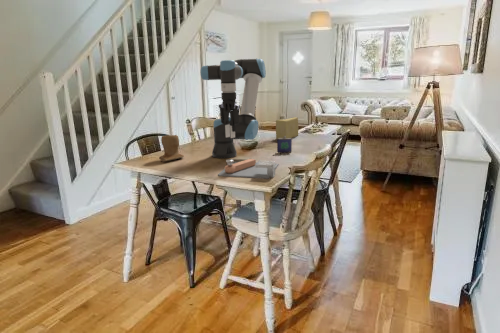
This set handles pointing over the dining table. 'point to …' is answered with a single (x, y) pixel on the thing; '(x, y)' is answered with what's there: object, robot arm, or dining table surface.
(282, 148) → the dark blue box
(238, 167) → the link
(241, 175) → the base board
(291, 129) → the cheese
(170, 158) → the brown boot
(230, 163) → the silver metal knob
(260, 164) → the block
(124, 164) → the dining table surface
